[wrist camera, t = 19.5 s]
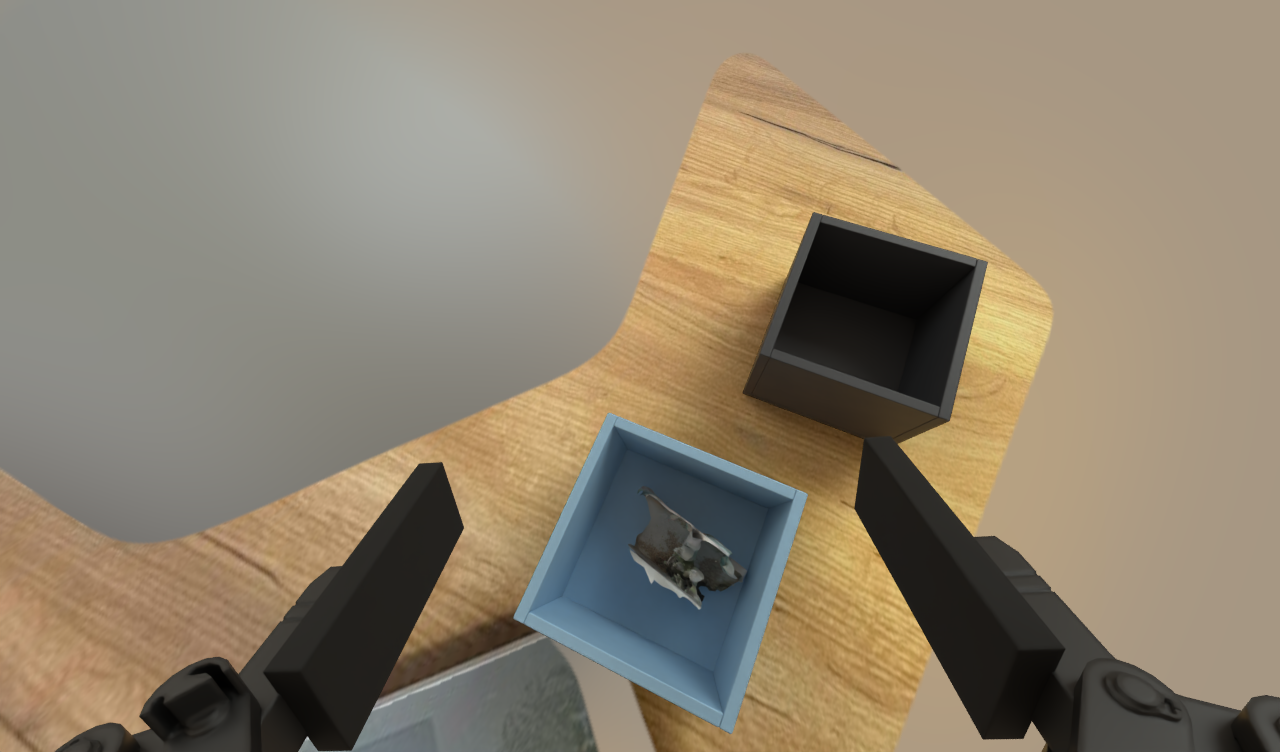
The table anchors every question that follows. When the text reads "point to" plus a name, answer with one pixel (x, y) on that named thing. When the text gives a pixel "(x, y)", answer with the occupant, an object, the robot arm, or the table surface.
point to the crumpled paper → (682, 554)
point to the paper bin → (649, 613)
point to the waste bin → (868, 331)
